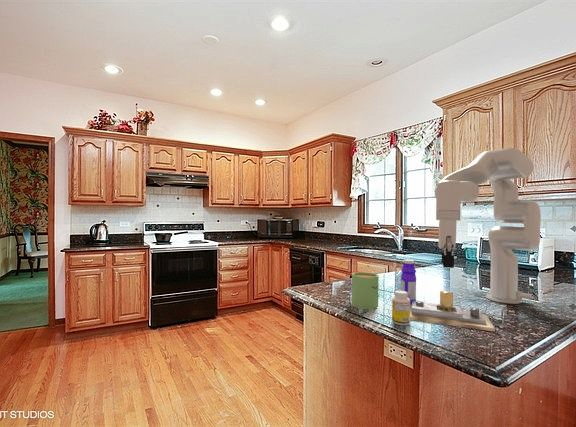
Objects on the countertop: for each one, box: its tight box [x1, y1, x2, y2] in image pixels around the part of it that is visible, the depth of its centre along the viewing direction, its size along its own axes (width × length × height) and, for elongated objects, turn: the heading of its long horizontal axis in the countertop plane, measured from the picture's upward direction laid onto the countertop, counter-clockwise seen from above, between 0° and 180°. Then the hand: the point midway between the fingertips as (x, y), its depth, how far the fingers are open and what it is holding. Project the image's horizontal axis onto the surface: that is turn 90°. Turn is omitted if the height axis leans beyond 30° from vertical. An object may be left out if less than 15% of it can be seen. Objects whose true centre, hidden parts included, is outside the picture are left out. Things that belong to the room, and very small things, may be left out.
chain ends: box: [411, 300, 486, 325], centre depth 106 cm, size 22×9×3 cm, turn 66°
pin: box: [439, 290, 454, 312], centre depth 106 cm, size 4×4×8 cm
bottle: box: [400, 258, 417, 305], centre depth 125 cm, size 7×6×17 cm
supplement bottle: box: [391, 290, 411, 326], centre depth 101 cm, size 6×6×10 cm
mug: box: [351, 271, 380, 310], centre depth 121 cm, size 13×10×12 cm
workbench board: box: [410, 305, 496, 333], centre depth 106 cm, size 26×14×1 cm, turn 66°
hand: (447, 265), depth 107 cm, fingers open, 9 cm apart
